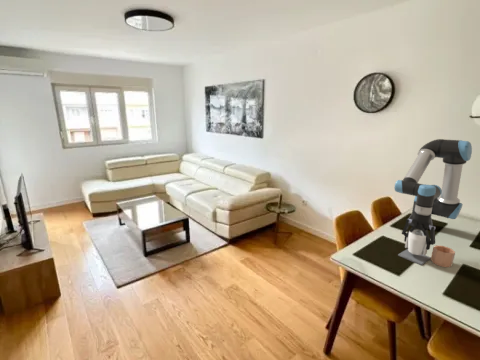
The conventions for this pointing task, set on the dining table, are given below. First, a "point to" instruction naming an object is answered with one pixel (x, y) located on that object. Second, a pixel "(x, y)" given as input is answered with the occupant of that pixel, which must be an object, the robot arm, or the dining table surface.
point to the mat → (414, 257)
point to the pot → (442, 256)
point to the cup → (416, 242)
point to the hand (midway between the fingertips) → (415, 250)
